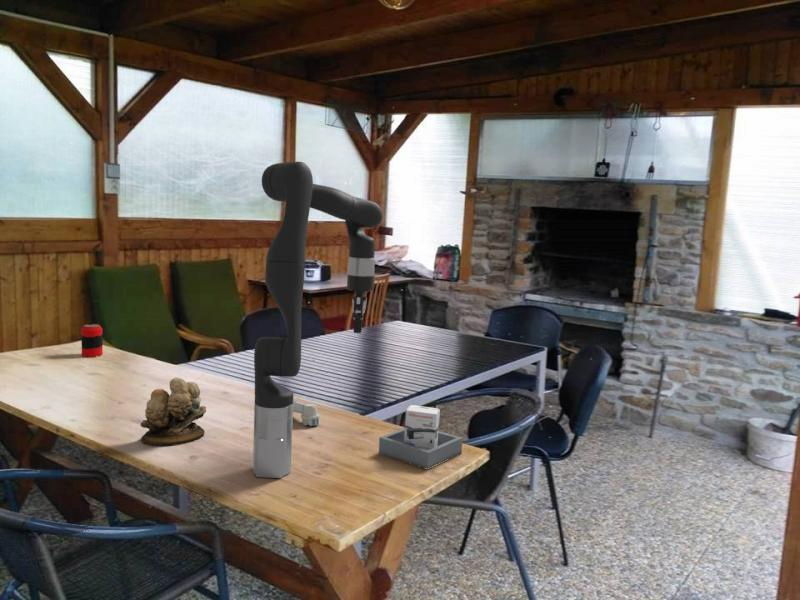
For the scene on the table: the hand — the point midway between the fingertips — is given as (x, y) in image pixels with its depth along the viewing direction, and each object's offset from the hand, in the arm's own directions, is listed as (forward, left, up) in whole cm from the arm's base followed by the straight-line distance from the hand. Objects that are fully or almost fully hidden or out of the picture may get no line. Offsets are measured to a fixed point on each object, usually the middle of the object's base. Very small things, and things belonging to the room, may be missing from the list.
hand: (358, 330), depth 199 cm
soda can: (+75, +108, -30) cm, 135 cm away
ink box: (-15, -19, -30) cm, 38 cm away
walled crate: (-15, -19, -30) cm, 39 cm away
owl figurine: (-12, +48, -30) cm, 58 cm away
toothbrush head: (+12, +19, -31) cm, 38 cm away
